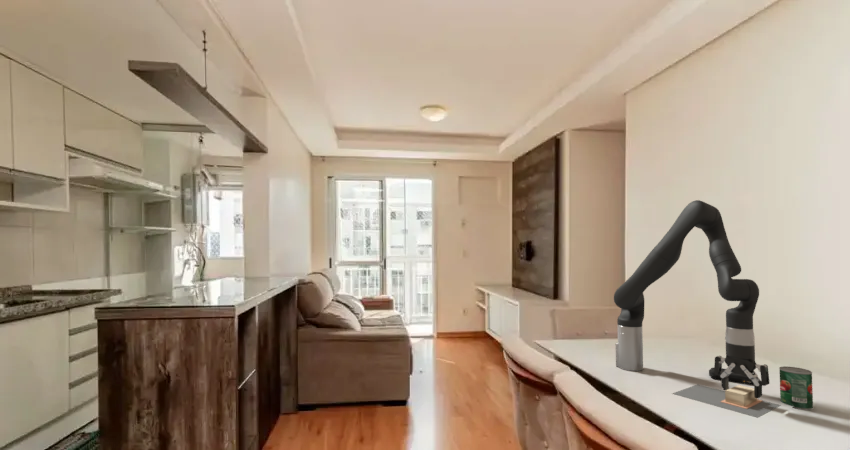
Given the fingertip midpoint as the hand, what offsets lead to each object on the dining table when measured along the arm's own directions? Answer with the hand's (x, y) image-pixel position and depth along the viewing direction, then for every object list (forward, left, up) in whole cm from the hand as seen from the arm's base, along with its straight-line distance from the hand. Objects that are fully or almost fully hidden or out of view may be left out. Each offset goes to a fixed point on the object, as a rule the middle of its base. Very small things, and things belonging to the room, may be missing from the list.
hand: (741, 393), depth 138 cm
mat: (-4, -2, -3) cm, 5 cm away
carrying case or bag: (-13, +26, -4) cm, 29 cm away
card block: (0, 0, -2) cm, 2 cm away
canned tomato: (+10, +13, -3) cm, 17 cm away
